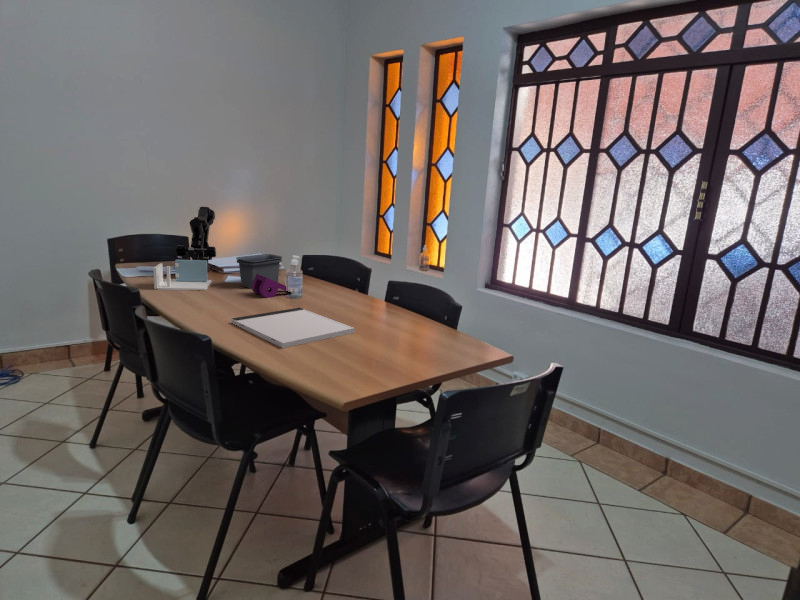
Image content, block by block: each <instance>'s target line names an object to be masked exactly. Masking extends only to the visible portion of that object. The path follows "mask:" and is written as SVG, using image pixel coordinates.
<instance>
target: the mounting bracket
mask: <svg viewBox="0 0 800 600" xmlns="http://www.w3.org/2000/svg"><path fill="white" fill-rule="evenodd" d="M286 286H287V285H285V284H282V283H280V282H279V281H278V282H276V281H274V280H271V279H269V278H267V277H264V276H261V275H258V274H256V276H255V278H254V280H253V283H252V289H251V290H252V293H255V294H256V295H258V296H259V295H261V296H262V297H263V298H266V299H270V298H274V297H275V296H276V295H277V292H278V291H279V289H280V290H282V291H284V292H287V291H286Z"/></svg>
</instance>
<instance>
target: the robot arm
mask: <svg viewBox="0 0 800 600" xmlns="http://www.w3.org/2000/svg"><path fill="white" fill-rule="evenodd" d="M197 211H198V212H197V217H196V216H195V217H194V218H192V219H191V220H190V221H189V226H190V232H191V233H192V234H191V242H190V247H188V248H186V246H185V245H182V244H181V245H180V244H178V245H176V246H175V252H176V256H178V257H184V256H186V255H187V254H188V257H189V258H191V260H205V261H207V272H210V268H209V261H210V260H213V258H216V257H217V249H216V247H215V246H210V245H209V242H208V241H209V235H210V226H211V225H213V224H214V220H216V214H215V211H214V210H213V209H211V207H208V206H199V209H198V210H197Z"/></svg>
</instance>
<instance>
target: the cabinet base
mask: <svg viewBox="0 0 800 600" xmlns="http://www.w3.org/2000/svg"><path fill="white" fill-rule="evenodd" d="M152 268H153V288H154V289H156V290H155V291H189V290H206V289H207V290H208V288H209V287H210V285H211V284H212V283H213V282H212V280H211V279H207V282H198V281H176V278H173V279H172V278H171V265H167V266H166V278H164V268H163V263H162V262H160V263H159V264H157V265H156V266H154V267H152ZM208 286H209V287H208ZM157 289H158V290H157ZM207 290H206V291H207Z"/></svg>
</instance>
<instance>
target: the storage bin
mask: <svg viewBox="0 0 800 600" xmlns="http://www.w3.org/2000/svg"><path fill="white" fill-rule="evenodd" d="M282 258H284V256H281V255H276V254H272V253H262V254H253V255H252V254H250V255H244V256H243V255H242V256H237V257H235V259H236V263H237V264H238V265H239V266H238V267H239V276H240V277H239V278H240V284H241V286H242V287H245V288H249V289H251V290H252V283H253V280H254V278H255V276H256V274H258V275H261V276H264V277H267V278H269V279H271V280H274V281H276V282H278V283H279V276H280V274H279V272H280V264H281V262H283V259H282Z"/></svg>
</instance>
